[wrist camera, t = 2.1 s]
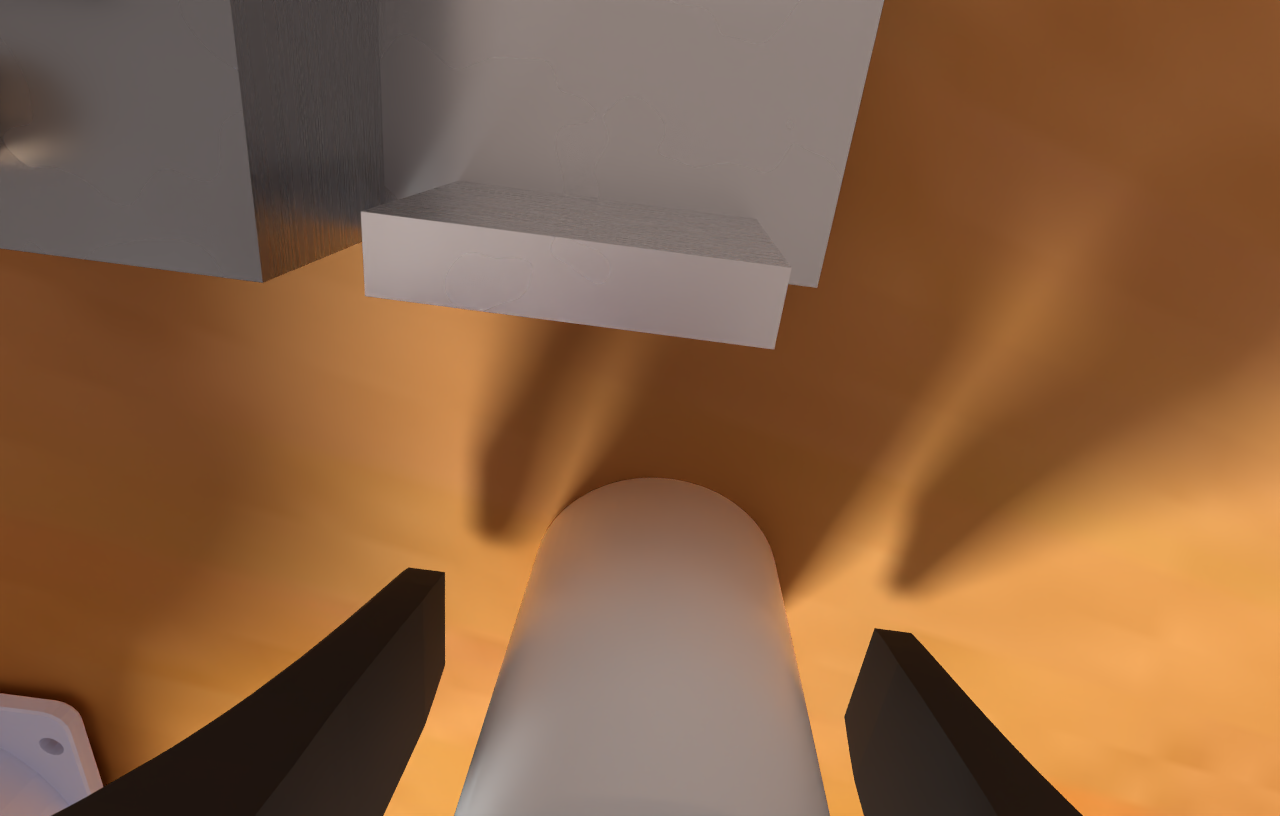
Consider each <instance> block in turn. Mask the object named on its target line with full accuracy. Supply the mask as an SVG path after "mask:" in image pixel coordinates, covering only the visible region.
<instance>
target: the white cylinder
mask: <svg viewBox="0 0 1280 816" xmlns="http://www.w3.org/2000/svg"><path fill="white" fill-rule="evenodd" d="M454 816H830V814H829V809H828V805H827V800H826V796H825V791H824V786H823V782H822V777H821V772H820V768H819V763H818V759H817V754H816V749H815V745H814V740H813V735H812V731H811V726H810V722H809V717H808V712H807V708H806V703H805V698H804V694H803V689H802V685H801V680H800V675H799V671H798V666H797V661H796V657H795V652H794V648H793V643H792V638H791V634H790V629H789V624H788V620H787V615H786V610H785V606H784V601H783V597H782V592H781V587H780V583H779V578H778V573H777V569H776V564H775V560H774V557H773V553H772V550H771V547H770V545H769V543H768V541H767V539H766V537H765V535H764V534H763V532H762V531H761V529H760V528H759V527H758V525H757V524H756V522H755V521H754V520H753V519H752V518H751V517H750V516H749V515H748V514H747V513H746V512H745V511H744V510H742V509H741V508H740V507H739V506H737V505H736V504H735V503H734V502H732V501H731V500H729V499H727V498H726V497H724V496H722V495H721V494H719V493H717V492H714V491H712V490H710V489H708V488H705V487H703V486H700V485H696V484H693V483H690V482H686V481H681V480H675V479H668V478H655V477H654V478H635V479H629V480H623V481H618V482H615V483H611V484H608V485H604V486H602V487H600V488H597V489H595V490H593V491H590V492H588V493H587V494H585V495H583V496H582V497H580V498H578V499H576V500H575V501H574V502H573V503H571V504H570V505H569V506H567V507H566V508H565V509H564V510H563V511H562V512H561V513H560V514H559V515H558V516H557V517H556V518H555V519H554V521H553V522H552V524H551V525H550V526H549V528H548V529H547V531H546V533H545V535H544V537H543V539H542V541H541V543H540V546H539V549H538V552H537V556H536V559H535V562H534V565H533V568H532V571H531V575H530V578H529V581H528V584H527V587H526V590H525V594H524V597H523V600H522V603H521V606H520V609H519V612H518V616H517V619H516V622H515V625H514V628H513V631H512V635H511V638H510V641H509V644H508V647H507V650H506V654H505V657H504V660H503V663H502V666H501V669H500V672H499V676H498V679H497V682H496V685H495V688H494V691H493V695H492V698H491V701H490V704H489V707H488V710H487V714H486V717H485V720H484V723H483V726H482V729H481V733H480V736H479V739H478V742H477V745H476V748H475V751H474V755H473V758H472V761H471V764H470V767H469V770H468V774H467V777H466V780H465V783H464V786H463V789H462V793H461V796H460V799H459V802H458V805H457V808H456V812H455V815H454Z"/></svg>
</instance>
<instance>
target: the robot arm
mask: <svg viewBox="0 0 1280 816" xmlns="http://www.w3.org/2000/svg"><path fill="white" fill-rule="evenodd" d="M444 666H445V572H439V571H431V570H423V569H415V568H407V569H406V570H404V571H403V572H402V573H401V574H399V575H398V576H397V577H396V578H395V579H394V580H392V581H391V582H390V583H389V584H388V585H387V586H386V587H384V588H383V589H382V590H381V591H380V592H379V593H377V594H376V595H375V596H374V597H373V598H372V599H371V600H369V601H368V602H367V603H366V604H365V605H364V606H363V607H361V608H360V609H359V610H358V611H357V612H355V613H354V614H353V615H352V616H351V617H350V618H348V619H347V620H346V621H345V622H344V623H343V624H341V625H340V626H339V627H338V628H336V629H335V630H334V631H333V632H331V633H330V634H329V635H328V636H327V637H325V638H324V639H323V640H322V641H320V642H319V643H318V644H317V645H316V646H314V647H313V648H312V649H311V650H309V651H308V652H307V653H306V654H304V655H303V656H302V657H301V658H299V659H298V660H297V661H295V662H294V663H293V664H291V665H290V666H289V667H287V668H286V669H285V670H283V671H282V672H281V673H279V674H278V675H277V676H275V677H274V678H273V679H271V680H270V681H269V682H267V683H266V684H265V685H263V686H262V687H261V688H259V689H258V690H257V691H255V692H254V693H253V694H251V695H250V696H248V697H247V698H246V699H244V700H243V701H241V702H240V703H238V704H237V705H236V706H234V707H233V708H231V709H230V710H228V711H227V712H225V713H224V714H223V715H221V716H220V717H218V718H217V719H215V720H214V721H212V722H211V723H209V724H208V725H206V726H205V727H203V728H201V729H200V730H198V731H197V732H195V733H194V734H192V735H191V736H189V737H188V738H186V739H184V740H183V741H181V742H180V743H178V744H177V745H175V746H173V747H172V748H170V749H168V750H167V751H165V752H163V753H162V754H160V755H158V756H157V757H155V758H153V759H152V760H150V761H148V762H146V763H145V764H143V765H141V766H139V767H138V768H136V769H134V770H132V771H131V772H129V773H127V774H125V775H124V776H122V777H120V778H118V779H117V780H115V781H113V782H111V783H110V784H108V785H106V786H104V787H103V784H102V780H101V777H100V774H99V771H98V768H97V765H96V761H95V758H94V755H93V752H92V749H91V746H90V742H89V739H88V736H87V733H86V730H85V727H84V723H83V720H82V717H81V716H80V714H79V712H78V711H77V710H76V709H75V708H73V707H72V706H70V705H69V704H67V703H65V702H61V701H57V700H50V699H42V698H34V697H27V696H19V695H11V694H4V693H0V816H383V815H384V813H385V811H386V809H387V806H388V804H389V802H390V800H391V798H392V796H393V793H394V791H395V789H396V787H397V785H398V783H399V781H400V778H401V776H402V774H403V772H404V770H405V768H406V765H407V763H408V761H409V759H410V757H411V754H412V752H413V750H414V748H415V746H416V744H417V741H418V739H419V737H420V735H421V733H422V730H423V728H424V726H425V723H426V720H427V718H428V715H429V712H430V709H431V706H432V703H433V700H434V697H435V694H436V691H437V688H438V685H439V682H440V679H441V675H442V672H443V669H444ZM845 724H846V731H847V738H848V745H849V752H850V757H851V763H852V769H853V775H854V780H855V784H856V788H857V792H858V795H859V799H860V803H861V806H862V810H863V813H864V816H1083V815H1082V814H1080V813H1079V812H1078V811H1077V810H1076V809H1075V808H1074V807H1073V806H1072V805H1071V804H1070V803H1069V802H1068V801H1067V800H1066V799H1065V798H1064V797H1063V796H1062V795H1061V794H1060V793H1059V792H1058V791H1057V790H1056V789H1055V788H1054V787H1053V786H1052V785H1051V784H1050V783H1049V782H1048V781H1047V780H1046V779H1045V778H1044V777H1043V776H1042V775H1041V774H1040V773H1039V772H1038V771H1037V770H1036V769H1035V768H1034V767H1033V766H1032V765H1031V764H1030V763H1029V762H1028V761H1027V760H1026V759H1025V757H1024V756H1023V755H1022V754H1021V753H1020V752H1019V751H1018V750H1017V749H1016V748H1015V747H1014V746H1013V745H1012V744H1011V743H1010V742H1009V741H1008V740H1007V738H1006V737H1005V736H1004V735H1003V734H1002V733H1001V732H1000V731H999V730H998V729H997V728H996V727H995V726H994V724H993V723H992V722H991V721H990V720H989V719H988V718H987V717H986V716H985V715H984V713H983V712H982V711H981V710H980V709H979V708H978V707H977V706H976V705H975V704H974V702H973V701H972V700H971V699H970V698H969V697H968V696H967V695H966V693H965V692H964V691H963V690H962V689H961V688H960V687H959V686H958V684H957V683H956V682H955V681H954V680H953V679H952V678H951V677H950V675H949V674H948V673H947V672H946V671H945V670H944V669H943V667H942V666H941V665H940V664H939V663H938V662H937V661H936V660H935V658H934V657H933V656H932V655H931V654H930V653H929V652H928V651H927V650H926V648H925V647H924V646H923V645H922V644H921V643H920V642H919V641H918V640H917V639H916V638H915V637H914V636H913V634H912V633H906V632H899V631H891V630H883V629H876V628H875V629H874V632H873V635H872V638H871V641H870V644H869V647H868V649H867V652H866V655H865V658H864V661H863V664H862V667H861V670H860V673H859V676H858V679H857V682H856V684H855V687H854V690H853V693H852V696H851V699H850V702H849V705H848V708H847V711H846V714H845Z"/></svg>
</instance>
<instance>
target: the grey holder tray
mask: <svg viewBox="0 0 1280 816" xmlns="http://www.w3.org/2000/svg"><path fill="white" fill-rule="evenodd" d="M883 3H884V0H0V248H1V249H9V250H16V251H24V252H32V253H39V254H47V255H55V256H62V257H70V258H78V259H85V260H93V261H101V262H108V263H116V264H124V265H131V266H139V267H147V268H154V269H162V270H170V271H177V272H185V273H193V274H200V275H208V276H216V277H223V278H231V279H238V280H246V281H254V282H261V283H263V282H266V281H268V280H270V279H273V278H275V277H278V276H280V275H282V274H285V273H287V272H290V271H292V270H295V269H297V268H299V267H302V266H304V265H307V264H309V263H311V262H314V261H316V260H319V259H321V258H324V257H326V256H328V255H331V254H333V253H336V252H338V251H340V250H343V249H345V248H348V247H350V246H353V245H355V244H357V243H360V242H362V246H363V265H364V284H365V296H369V297H376V298H384V299H392V300H399V301H407V302H415V303H422V304H430V305H438V306H445V307H453V308H461V309H468V310H476V311H484V312H491V313H499V314H506V315H514V316H522V317H529V318H537V319H545V320H552V321H560V322H568V323H575V324H583V325H591V326H598V327H606V328H614V329H621V330H629V331H637V332H644V333H652V334H660V335H667V336H675V337H683V338H690V339H698V340H706V341H713V342H721V343H729V344H736V345H744V346H752V347H759V348H767V349H774V348H775V343H776V339H777V334H778V329H779V325H780V320H781V315H782V311H783V306H784V301H785V297H786V292H787V287H788V284H791V285H799V286H807V287H814V288H817V287H818V282H819V278H820V274H821V270H822V265H823V261H824V257H825V252H826V248H827V244H828V239H829V235H830V231H831V227H832V222H833V218H834V214H835V209H836V205H837V201H838V197H839V192H840V188H841V184H842V179H843V175H844V171H845V166H846V162H847V158H848V154H849V149H850V145H851V141H852V136H853V132H854V128H855V124H856V119H857V115H858V111H859V106H860V102H861V98H862V93H863V89H864V85H865V81H866V76H867V72H868V68H869V63H870V59H871V55H872V51H873V46H874V42H875V38H876V33H877V29H878V25H879V20H880V16H881V12H882V8H883Z"/></svg>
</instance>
